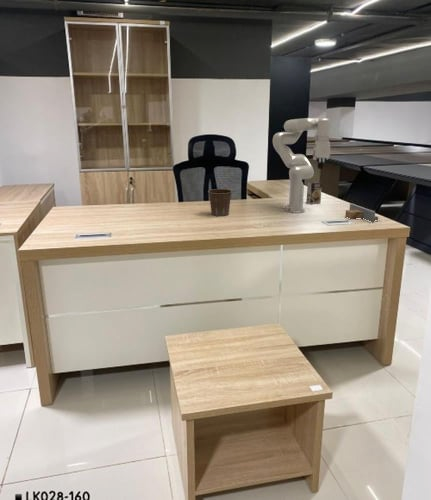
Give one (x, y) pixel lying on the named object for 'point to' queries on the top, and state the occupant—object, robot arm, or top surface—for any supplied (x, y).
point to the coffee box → (314, 193)
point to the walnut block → (353, 214)
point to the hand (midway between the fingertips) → (320, 168)
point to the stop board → (365, 212)
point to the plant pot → (220, 201)
